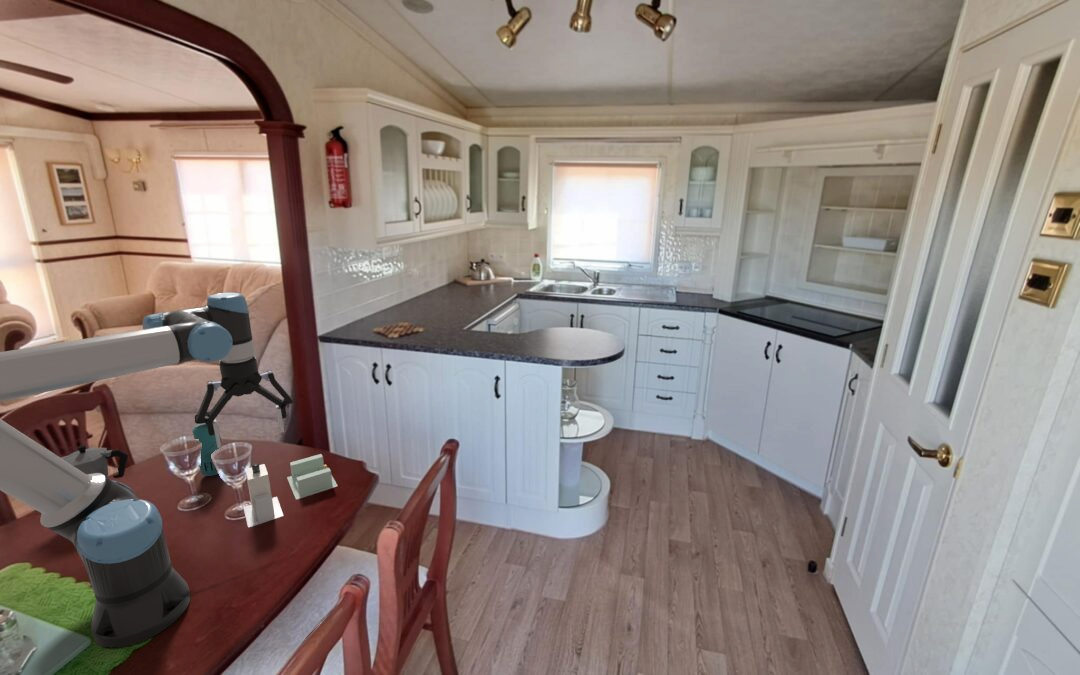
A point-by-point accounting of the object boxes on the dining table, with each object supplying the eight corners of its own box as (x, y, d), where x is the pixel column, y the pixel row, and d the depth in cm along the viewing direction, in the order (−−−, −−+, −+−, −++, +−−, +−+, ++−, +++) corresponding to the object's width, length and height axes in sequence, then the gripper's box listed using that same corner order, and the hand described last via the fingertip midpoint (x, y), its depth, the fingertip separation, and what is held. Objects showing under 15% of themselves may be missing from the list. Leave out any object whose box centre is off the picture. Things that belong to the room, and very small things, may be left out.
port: (338, 489, 136) (336, 470, 135) (296, 502, 130) (293, 483, 128) (326, 468, 146) (324, 451, 144) (287, 480, 140) (284, 462, 138)
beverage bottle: (203, 483, 137) (190, 421, 131) (199, 473, 142) (186, 413, 136) (229, 475, 141) (218, 414, 136) (225, 465, 146) (213, 407, 140)
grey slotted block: (284, 518, 123) (280, 492, 121) (248, 530, 119) (243, 503, 116) (277, 499, 131) (273, 474, 129) (243, 510, 126) (239, 484, 124)
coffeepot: (56, 521, 120) (36, 459, 115) (76, 499, 129) (59, 441, 123) (130, 509, 125) (115, 449, 120) (145, 489, 134) (131, 432, 129)
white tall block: (274, 514, 124) (266, 467, 120) (255, 520, 121) (246, 473, 117) (270, 502, 128) (263, 457, 124) (252, 508, 126) (243, 462, 121)
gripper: (291, 345, 122) (302, 418, 128) (171, 363, 108) (189, 445, 114) (298, 352, 117) (308, 429, 123) (172, 373, 102) (191, 459, 108)
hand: (251, 437), depth 118 cm, fingers open, 13 cm apart
